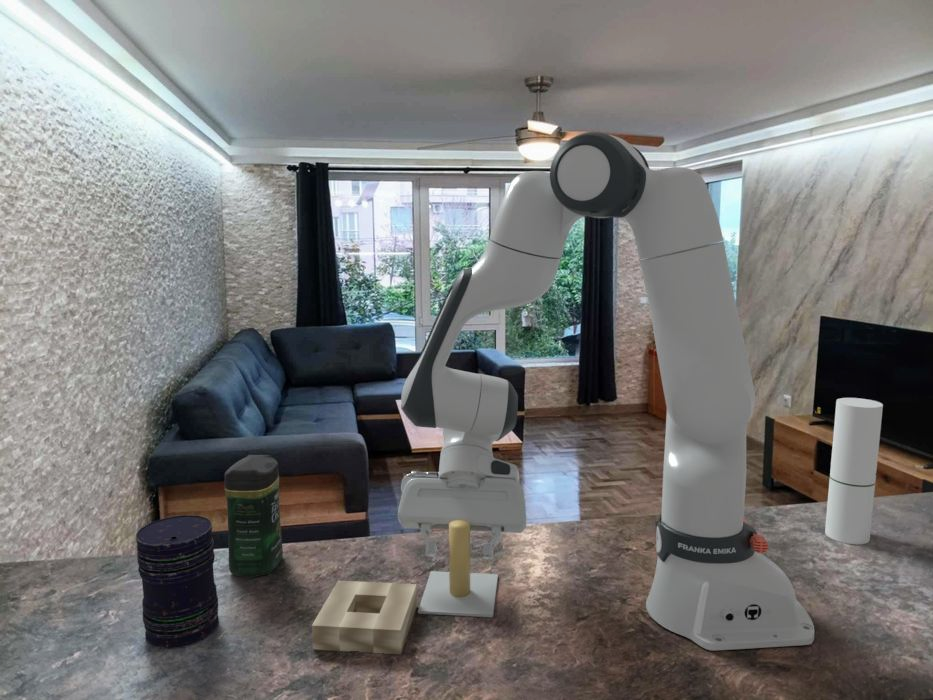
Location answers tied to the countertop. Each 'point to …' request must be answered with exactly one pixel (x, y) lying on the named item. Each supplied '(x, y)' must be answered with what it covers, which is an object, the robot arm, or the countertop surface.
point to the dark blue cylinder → (177, 581)
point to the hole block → (365, 617)
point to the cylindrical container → (853, 470)
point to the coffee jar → (253, 516)
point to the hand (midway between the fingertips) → (459, 556)
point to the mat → (470, 605)
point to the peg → (459, 558)
